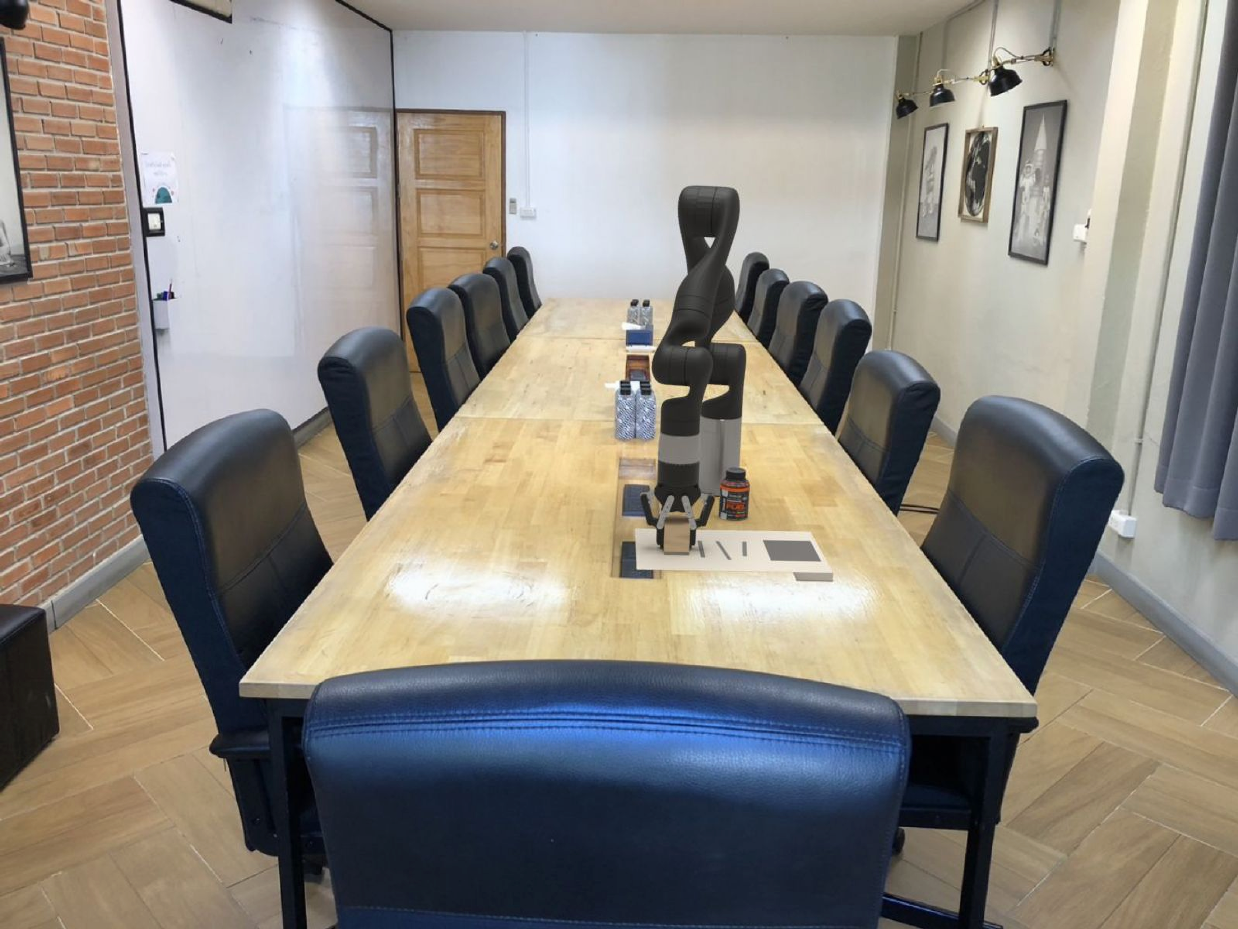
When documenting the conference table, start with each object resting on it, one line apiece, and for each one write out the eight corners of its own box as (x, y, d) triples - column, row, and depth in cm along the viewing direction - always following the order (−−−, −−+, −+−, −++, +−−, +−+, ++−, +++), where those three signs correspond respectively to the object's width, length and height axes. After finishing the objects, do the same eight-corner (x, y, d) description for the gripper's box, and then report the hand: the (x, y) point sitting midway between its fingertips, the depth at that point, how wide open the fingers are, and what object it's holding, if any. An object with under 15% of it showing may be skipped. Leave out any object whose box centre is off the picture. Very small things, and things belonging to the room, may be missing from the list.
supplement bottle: (724, 528, 203) (727, 474, 200) (713, 519, 208) (716, 466, 205) (752, 526, 204) (755, 472, 201) (741, 517, 210) (743, 464, 207)
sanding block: (662, 541, 190) (663, 513, 189) (686, 542, 190) (687, 514, 189) (663, 554, 183) (665, 525, 182) (688, 555, 183) (690, 526, 182)
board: (634, 535, 198) (635, 528, 197) (809, 539, 198) (810, 531, 197) (636, 577, 176) (636, 569, 176) (832, 581, 177) (833, 572, 176)
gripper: (716, 452, 186) (712, 541, 190) (638, 450, 186) (636, 539, 190) (720, 463, 179) (716, 555, 183) (639, 461, 179) (636, 553, 183)
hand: (675, 546), depth 187 cm, fingers closed on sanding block, 4 cm apart
